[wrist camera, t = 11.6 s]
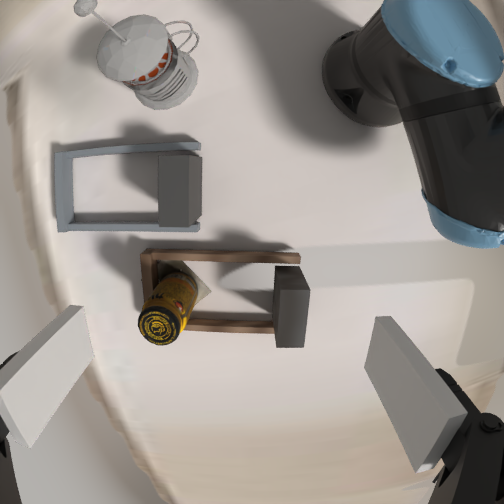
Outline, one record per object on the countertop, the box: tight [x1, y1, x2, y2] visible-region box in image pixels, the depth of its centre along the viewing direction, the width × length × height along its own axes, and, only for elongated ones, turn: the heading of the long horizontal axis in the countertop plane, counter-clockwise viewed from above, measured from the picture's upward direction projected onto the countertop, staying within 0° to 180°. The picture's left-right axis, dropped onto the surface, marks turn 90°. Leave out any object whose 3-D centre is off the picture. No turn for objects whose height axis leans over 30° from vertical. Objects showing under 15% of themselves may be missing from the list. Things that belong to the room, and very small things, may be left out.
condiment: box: [138, 260, 211, 345], centre depth 40 cm, size 7×8×12 cm
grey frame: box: [55, 142, 202, 232], centre depth 37 cm, size 22×12×9 cm, turn 88°
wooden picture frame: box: [140, 249, 310, 348], centre depth 41 cm, size 22×12×9 cm, turn 88°
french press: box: [74, 0, 199, 110], centre depth 26 cm, size 10×12×25 cm
